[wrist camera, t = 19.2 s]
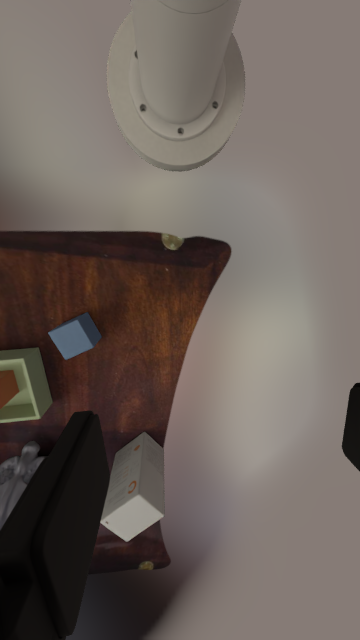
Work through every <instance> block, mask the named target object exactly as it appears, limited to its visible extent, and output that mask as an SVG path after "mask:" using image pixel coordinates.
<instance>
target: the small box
mask: <svg viewBox="0 0 360 640" xmlns="http://www.w3.org/2000/svg"><path fill="white" fill-rule="evenodd" d="M164 503H165V502H164V449H163V448H162V447H161V446H160V445H159V444H158V443H156V442H155V441H154V440H153V439H152V438H151V437H150V436H149V435H148V434H147V433H146V432H143V433H142V434H140V435H139V436H138V437H136V438H135V439H134V440H132V441H131V442H130V443H128V444H127V445H126V446H124V447H123V448H122V449H120V450H119V451H118V452H116V454H115V459H114V463H113V467H112V472H111V476H110V482H109V488H108V492H107V496H106V500H105V505H104V509H103V513H102V517H101V521H100V523H102V524H103V525H104V526H105V527H107V528H108V529H109V530H111V531H112V532H114V533H115V534H116V535H118V536H119V537H121V538H122V539H124V540H125V541H129V540H130V539H132V538H133V537H135V536H136V535H137V534H139V533H140V532H142V531H143V530H145V529H146V528H148V527H149V526H151V525H152V524H154V523H155V522H156V521H158V520H159V519H161V518H162V517H164V515H165V509H164V508H165V506H164V505H165V504H164Z"/></svg>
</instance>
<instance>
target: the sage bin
mask: <svg viewBox="0 0 360 640" xmlns="http://www.w3.org/2000/svg"><path fill="white" fill-rule="evenodd" d="M6 370H13V371H14V375H15V378H16V381H17V385H18V388H19V393H17V394H16V395H15V396H14V397H13V398H12V399H11V400H10V401H9V402H8V403H7V404H6V405H5V406H3V407H2V408H1V409H0V423H4V422H14V421H24V420H33V419H40V418H41V417H42V416H43V414H44V413H45V412H46V411H47V409H48V408H49V407H50V405H51V404H52V403H53V402H52V398H51V394H50V390H49V386H48V382H47V378H46V374H45V370H44V366H43V362H42V358H41V354H40V350H39V347H38V348H27V349H15V350H4V351H0V371H6Z"/></svg>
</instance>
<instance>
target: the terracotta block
mask: <svg viewBox="0 0 360 640" xmlns="http://www.w3.org/2000/svg"><path fill="white" fill-rule="evenodd" d="M17 393H19V388H18V385H17V381H16V378H15V375H14V371H13V370H6V371H0V409H1V408H2V407H3V406H5V405H6V404H7V403H8V402H9V401H10V400H11V399H12V398H13V397H14V396H15V395H16V394H17Z"/></svg>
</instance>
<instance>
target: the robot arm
mask: <svg viewBox="0 0 360 640" xmlns="http://www.w3.org/2000/svg"><path fill="white" fill-rule="evenodd" d="M130 1H131V9H132V17H133V24H134V32H135V40H136V44H135V46H134V48H133V51H132V55H131V58H130V63H129V71H128V74H129V87H130V93H131V97H132V101H133V104H134V107H135V109H136V111H137V113H138V115H139V117H140V118H141V120H142V121H143V123H144V124H145V125H146V126H147V127H148V128H149V129H150V130H151V131H152V132H154V133H155V134H156V135H158V136H160V137H162V138H164V139H167V140H171V141H186V140H191V139H193V138H195V137H197V136H199V135H201V134H202V133H203V132H205V131H206V130H207V129H208V128H209V127H210V126H211V124H212V123H213V122H214V120H215V118H216V117H217V115H218V113H219V110H220V108H221V105H222V102H223V99H224V94H225V87H226V73H225V67H224V62H223V59H224V55H225V52H226V49H227V46H228V42H229V39H230V36H231V32H232V29H233V26H234V23H235V19H236V16H237V13H238V9H239V6H240V3H241V0H130ZM213 107H214V108H215V109H213ZM143 110H145V112H142V111H143ZM179 133H182V135H179ZM342 449H343V452H344V454H345V456H346V457H347V458H348V459H349V460H350V461H351V463H352V464H353V465H354V466H355V467H356V468H357V469H358V470H359V471H360V383H356V384H355V385H354V386H353V388H352V389H351V390H350V395H349V401H348V408H347V415H346V422H345V428H344V435H343V442H342ZM109 482H110V472H109V467H108V462H107V457H106V452H105V446H104V441H103V436H102V431H101V426H100V421H99V416H98V415H97V414H95V415H94V414H93V412H92V411H82V412H75V413H74V414H73V415H72V417H71V418H70V420H69V422H68V423H67V425H66V427H65V429H64V430H63V432H62V434H61V436H60V437H59V439H58V441H57V443H56V444H55V446H54V448H53V449H52V451H51V453H50V455H49V456H48V457H46V458H45V459H43V461H42V462H41V463H40V465H39V466H38V468H37V470H36V471H35V473H34V475H33V476H32V478H31V480H30V481H29V483H28V485H27V486H26V488H25V490H24V491H23V493H22V495H21V496H20V498H19V500H18V501H17V503H16V505H15V506H14V508H13V510H12V511H11V513H10V515H9V516H8V518H7V520H6V522H5V523H4V525H3V527H2V528H1V530H0V640H65V639H66V636H69V635H71V634H72V633H73V631H74V629H75V626H76V622H77V618H78V614H79V610H80V605H81V601H82V597H83V593H84V589H85V584H86V580H87V576H88V572H89V568H90V563H91V559H92V555H93V551H94V547H95V542H96V538H97V534H98V530H99V526H100V521H101V517H102V513H103V509H104V505H105V500H106V496H107V492H108V488H109Z"/></svg>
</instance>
